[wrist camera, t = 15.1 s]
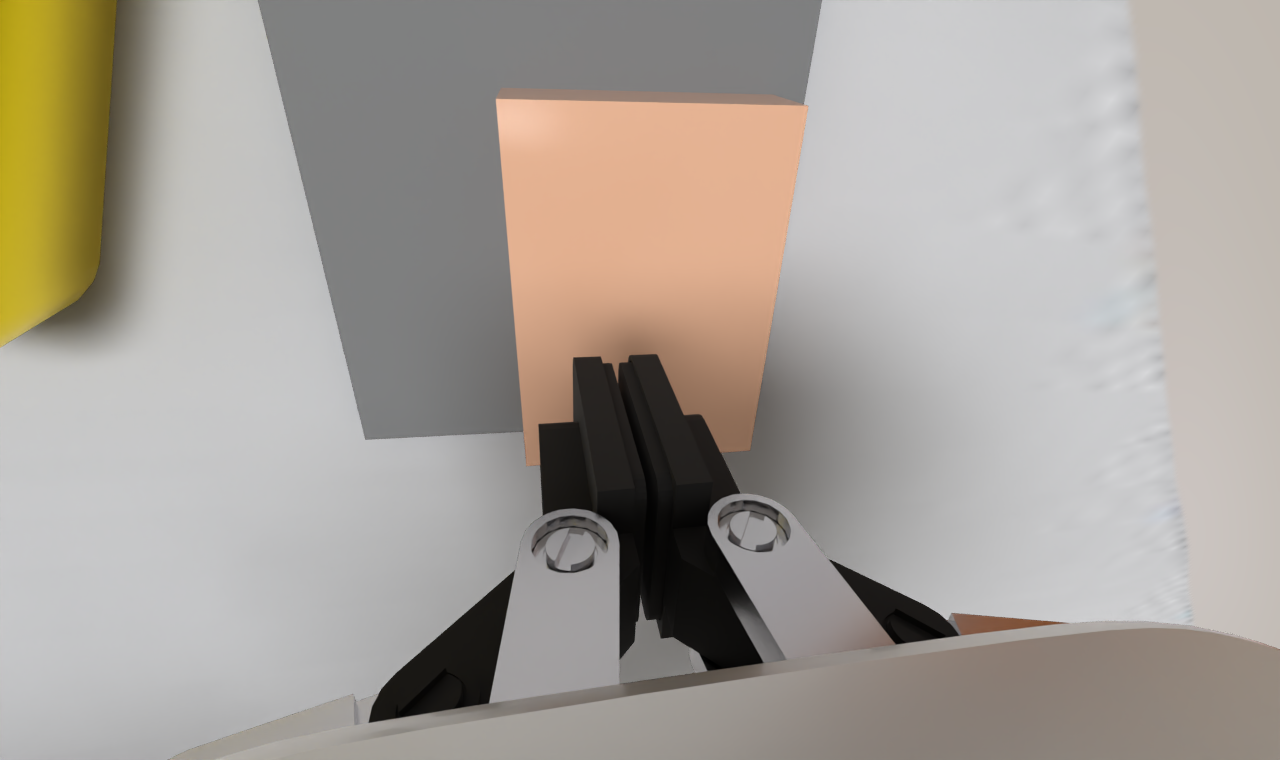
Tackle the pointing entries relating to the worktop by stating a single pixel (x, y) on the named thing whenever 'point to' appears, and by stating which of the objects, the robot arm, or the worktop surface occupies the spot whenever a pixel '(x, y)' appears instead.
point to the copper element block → (51, 153)
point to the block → (647, 241)
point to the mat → (470, 163)
